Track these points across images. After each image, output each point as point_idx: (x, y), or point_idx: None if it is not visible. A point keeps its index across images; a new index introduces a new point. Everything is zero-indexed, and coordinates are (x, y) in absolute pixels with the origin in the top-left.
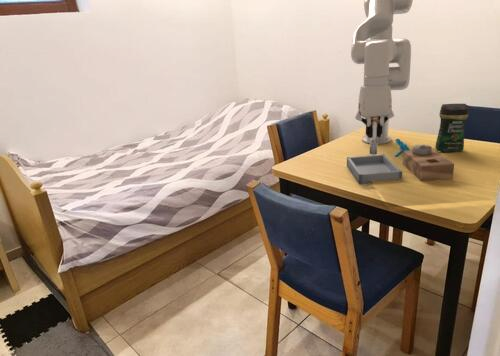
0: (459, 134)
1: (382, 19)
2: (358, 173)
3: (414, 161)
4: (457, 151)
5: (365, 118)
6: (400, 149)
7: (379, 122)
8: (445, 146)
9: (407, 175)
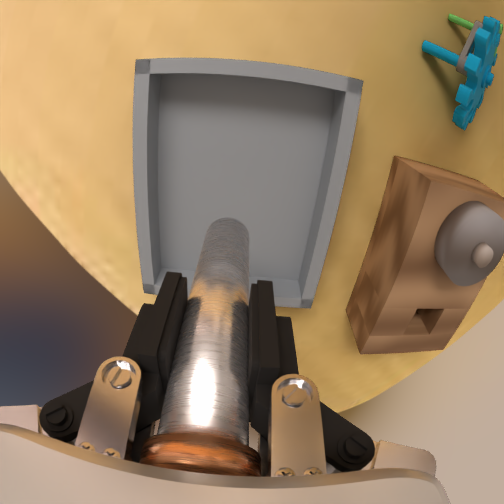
0: None
1: None
2: (143, 280)
3: (383, 299)
4: None
5: (87, 434)
6: (465, 44)
7: (264, 427)
8: None
9: (355, 243)
